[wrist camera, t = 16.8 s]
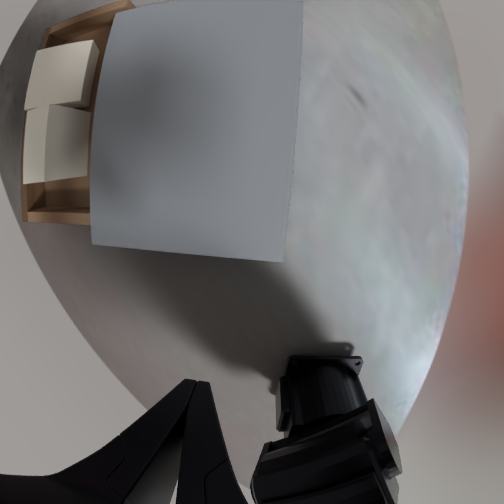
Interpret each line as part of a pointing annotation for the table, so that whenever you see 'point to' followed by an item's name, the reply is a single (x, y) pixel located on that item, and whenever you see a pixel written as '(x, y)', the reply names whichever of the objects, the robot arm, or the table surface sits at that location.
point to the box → (70, 31)
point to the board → (197, 128)
